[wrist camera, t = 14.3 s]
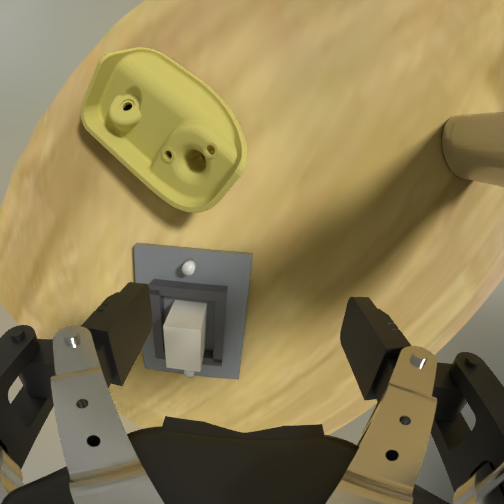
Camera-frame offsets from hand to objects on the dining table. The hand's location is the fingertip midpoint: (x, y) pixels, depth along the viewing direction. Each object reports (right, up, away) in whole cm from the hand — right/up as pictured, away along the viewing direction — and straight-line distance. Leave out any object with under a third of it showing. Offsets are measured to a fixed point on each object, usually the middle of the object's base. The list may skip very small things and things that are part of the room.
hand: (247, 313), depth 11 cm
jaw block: (-8, -6, +24) cm, 26 cm away
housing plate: (-8, -6, +25) cm, 26 cm away
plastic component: (-9, +16, +18) cm, 26 cm away
